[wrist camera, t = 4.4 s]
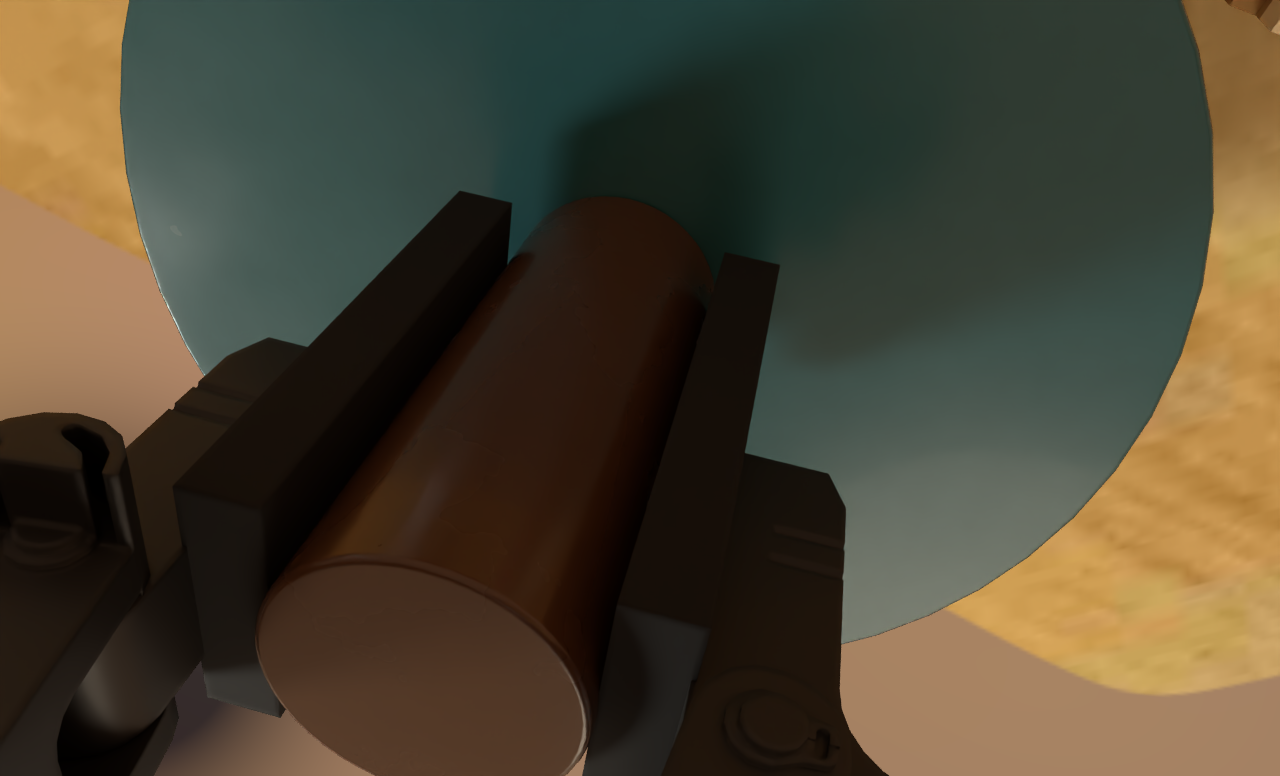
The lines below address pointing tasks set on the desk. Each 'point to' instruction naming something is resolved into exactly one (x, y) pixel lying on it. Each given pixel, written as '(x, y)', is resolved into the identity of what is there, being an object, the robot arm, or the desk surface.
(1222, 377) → the desk surface
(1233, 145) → the desk surface
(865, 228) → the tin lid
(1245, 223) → the desk surface
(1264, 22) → the blocky axolotl figure
